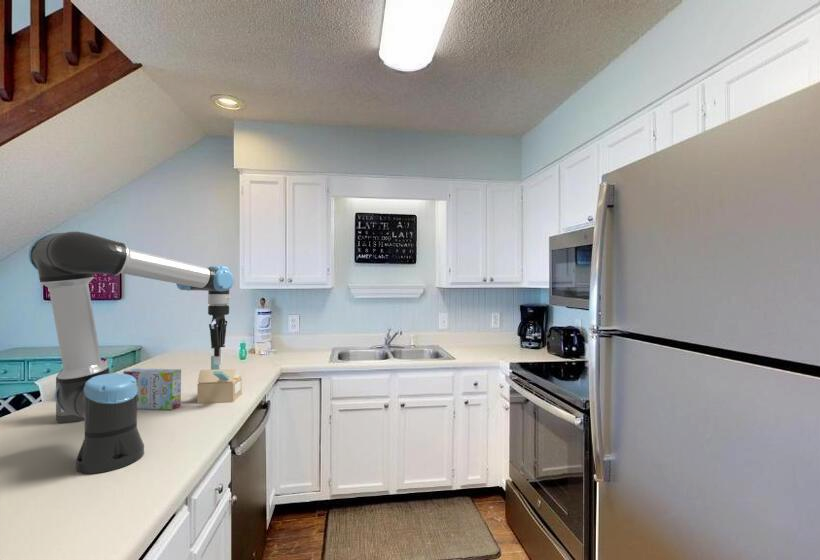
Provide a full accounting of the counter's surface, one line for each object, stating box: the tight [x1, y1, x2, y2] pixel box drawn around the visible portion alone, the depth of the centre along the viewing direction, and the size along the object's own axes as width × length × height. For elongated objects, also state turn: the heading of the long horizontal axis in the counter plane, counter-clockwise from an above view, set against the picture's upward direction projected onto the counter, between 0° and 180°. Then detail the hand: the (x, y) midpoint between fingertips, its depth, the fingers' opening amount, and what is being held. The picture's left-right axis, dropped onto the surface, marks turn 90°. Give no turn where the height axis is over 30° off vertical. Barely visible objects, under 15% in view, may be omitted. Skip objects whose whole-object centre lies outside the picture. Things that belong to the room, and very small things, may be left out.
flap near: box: [197, 368, 236, 384], centre depth 154 cm, size 5×14×10 cm
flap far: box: [210, 355, 242, 379], centre depth 164 cm, size 5×14×10 cm, turn 97°
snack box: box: [123, 367, 182, 411], centre depth 151 cm, size 21×6×15 cm, turn 84°
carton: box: [197, 375, 243, 404], centre depth 162 cm, size 11×14×8 cm
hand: (217, 364), depth 150 cm, fingers closed
